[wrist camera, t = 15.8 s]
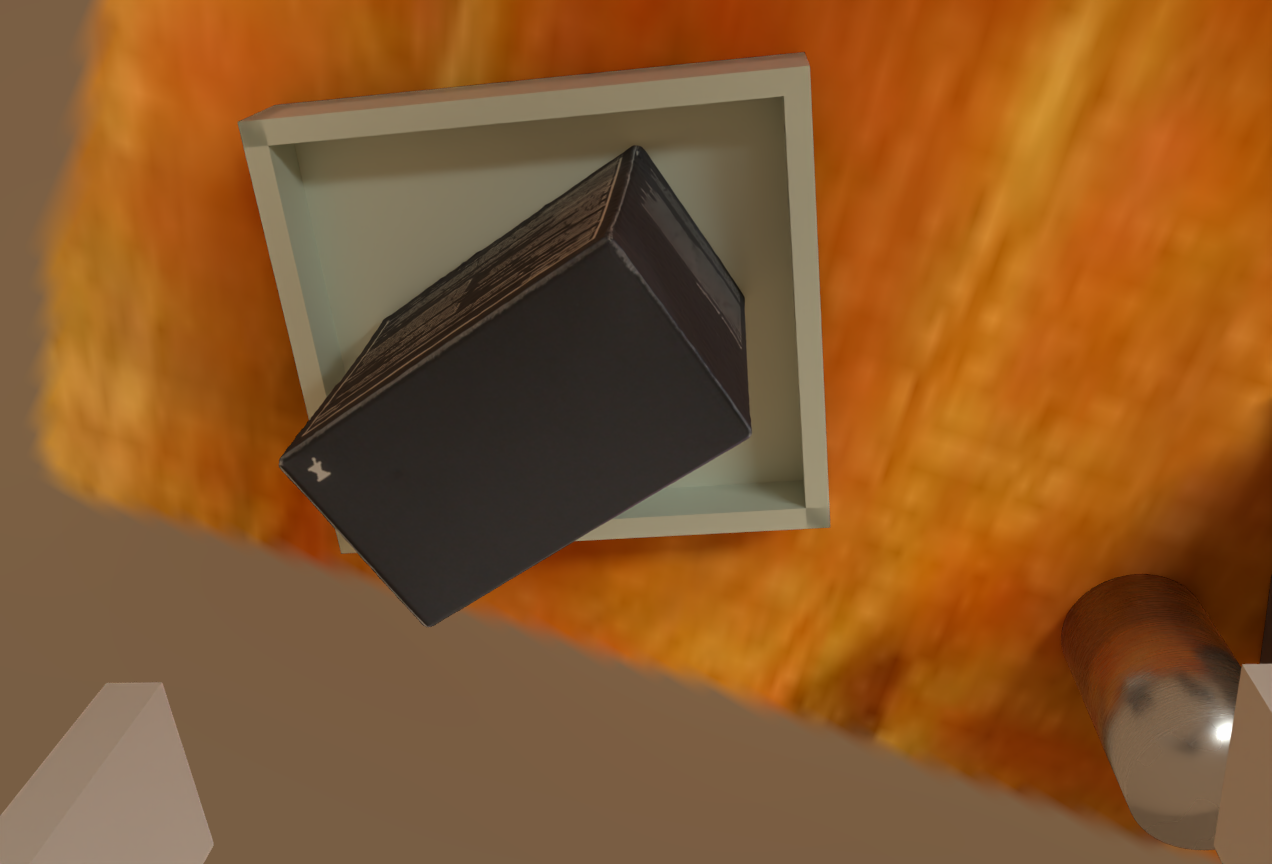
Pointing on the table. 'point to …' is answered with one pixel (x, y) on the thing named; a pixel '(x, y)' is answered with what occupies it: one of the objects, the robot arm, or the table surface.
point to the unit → (1267, 633)
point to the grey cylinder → (1157, 700)
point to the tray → (521, 185)
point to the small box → (532, 393)
